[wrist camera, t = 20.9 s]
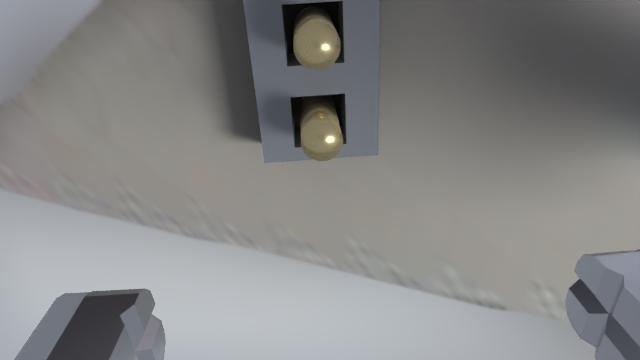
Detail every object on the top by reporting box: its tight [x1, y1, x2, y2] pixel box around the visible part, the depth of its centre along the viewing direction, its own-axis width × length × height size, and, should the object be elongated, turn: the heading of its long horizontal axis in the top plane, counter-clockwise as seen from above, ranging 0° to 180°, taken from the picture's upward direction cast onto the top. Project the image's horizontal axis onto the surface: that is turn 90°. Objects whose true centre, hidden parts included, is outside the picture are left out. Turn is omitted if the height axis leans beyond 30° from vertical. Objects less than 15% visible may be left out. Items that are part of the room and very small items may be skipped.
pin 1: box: [293, 6, 341, 70], centre depth 32 cm, size 3×3×8 cm
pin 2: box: [300, 95, 343, 161], centre depth 35 cm, size 3×3×8 cm
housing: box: [243, 0, 380, 163], centre depth 35 cm, size 14×10×4 cm
